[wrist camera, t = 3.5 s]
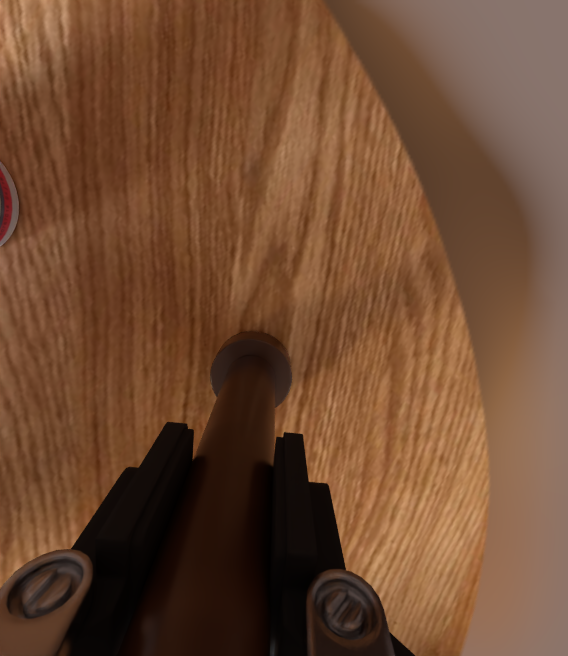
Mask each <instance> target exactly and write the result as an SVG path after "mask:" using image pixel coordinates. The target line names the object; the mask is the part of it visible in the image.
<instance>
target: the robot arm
mask: <svg viewBox="0 0 568 656" xmlns="http://www.w3.org/2000/svg"><path fill="white" fill-rule="evenodd" d="M193 440H194V430H193V429H188V426H187V424H185V423H174V422H167V423H166V424H165V426H164V427H163V429H162V431H161V432H160V434H159V436H158V437H157V439H156V440H155V442H154V444H153V445H152V447H151V449H150V450H149V452H148V453H147V455H146V457H145V458H144V460H143V462H142V463H141V465H140V466H139V468H135V467H128V468H126V469H125V470H124V471H123V472H122V474H121V475H120V477H119V478H118V480H117V481H116V483H115V484H114V486H113V487H112V489H111V490H110V492H109V493H108V495H107V496H106V498H105V499H104V501H103V502H102V504H101V505H100V507H99V508H98V510H97V511H96V513H95V514H94V516H93V517H92V519H91V520H90V522H89V523H88V525H87V526H86V527H85V529H84V530H83V532H82V533H81V535H80V536H79V538H78V539H77V541H76V542H75V544H74V545H73V547H72V548H71V549H64V550H56V551H52V552H49V553H46V554H43V555H41V556H39V557H37V558H35V559H33V560H31V561H29V562H27V563H26V564H25V565H23V566H22V567H21V568H19V569H18V570H17V571H15V572H14V574H13V575H12V576H11V577H10V578H9V579H8V580H7V581H6V582H5V583H4V584H3V586H2V587H1V588H0V656H117V654H118V651H119V648H120V646H121V643H122V641H123V638H124V636H125V633H126V630H127V628H128V625H129V623H130V620H131V618H132V615H133V612H134V610H135V607H136V605H137V602H138V600H139V597H140V595H141V592H142V589H143V587H144V584H145V582H146V579H147V577H148V574H149V571H150V569H151V566H152V564H153V561H154V559H155V556H156V554H157V551H158V548H159V546H160V543H161V541H162V538H163V536H164V533H165V530H166V528H167V525H168V523H169V520H170V518H171V515H172V512H173V510H174V507H175V505H176V502H177V500H178V497H179V494H180V492H181V489H182V487H183V484H184V482H185V479H186V476H187V474H188V471H189V469H190V466H191V464H192V460H193ZM269 601H270V606H271V634H270V656H415V655H414V654H413V653H412V652H411V651H410V650H408V649H407V648H406V647H405V646H404V645H403V644H402V643H401V642H400V641H399V640H398V639H396V638H395V637H394V636H393V635H392V634H391V633H390V632H389V629H388V625H387V621H386V617H385V612H384V609H383V606H382V604H381V601H380V598H379V596H378V595H377V594H376V592H375V591H374V589H373V588H372V586H371V585H369V584H368V583H367V582H366V581H365V580H364V579H363V578H362V577H360V576H358V575H356V574H354V573H353V572H350V571H346V568H345V563H344V558H343V553H342V548H341V543H340V538H339V533H338V529H337V524H336V519H335V514H334V509H333V504H332V499H331V494H330V489H329V486H328V484H326V483H315V482H309V481H308V473H307V465H306V457H305V449H304V441H303V434H297V433H286V432H284V435H283V437H276V444H275V453H274V461H273V480H272V518H271V556H270V594H269Z"/></svg>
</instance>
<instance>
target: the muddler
mask: <svg viewBox="0 0 568 656" xmlns="http://www.w3.org/2000/svg"><path fill="white" fill-rule="evenodd" d="M210 380H211V385H212V389H213V391H214V393H215V395H216V396H217V399H216V402H215V404H214V407H213V410H212V412H211V415H210V417H209V420H208V422H207V425H206V428H205V430H204V433H203V435H202V438H201V440H200V443H199V446H198V448H197V451H196V453H195V456H194V458H193V461H192V464H191V466H190V469H189V471H188V474H187V476H186V479H185V482H184V484H183V487H182V489H181V492H180V494H179V497H178V500H177V502H176V505H175V507H174V510H173V512H172V515H171V518H170V520H169V523H168V525H167V528H166V530H165V533H164V536H163V538H162V541H161V543H160V546H159V548H158V551H157V554H156V556H155V559H154V561H153V564H152V566H151V569H150V571H149V574H148V577H147V579H146V582H145V584H144V587H143V589H142V592H141V595H140V597H139V600H138V602H137V605H136V607H135V610H134V612H133V615H132V618H131V620H130V623H129V625H128V628H127V630H126V633H125V636H124V638H123V641H122V643H121V646H120V648H119V651H118V654H117V656H270V634H271V606H270V601H269V594H270V556H271V518H272V480H273V461H274V436H275V408H276V407H277V406H278V405H280V404H281V403H282V402H283V400H284V399H285V398H286V396H287V395H288V393H289V390H290V387H291V383H292V372H291V362H290V358H289V355H288V353H287V351H286V349H285V348H284V346H283V345H282V344H281V343H280V342H279V341H278V340H277V339H275V338H274V337H272V336H270V335H268V334H266V333H262V332H256V331H249V332H243V333H240V334H237V335H235V336H233V337H231V338H230V339H229V340H227V341H226V342H225V343H224V344H223V346H222V347H221V349H220V350H219V352H218V354H217V356H216V358H215V359H214V362H213V364H212V367H211V373H210Z"/></svg>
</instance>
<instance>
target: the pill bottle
mask: <svg viewBox="0 0 568 656" xmlns="http://www.w3.org/2000/svg"><path fill="white" fill-rule="evenodd" d="M18 216H19V200H18V195H17V190H16V187H15V185H14V182H13V180H12V178H11V176H10V174H9V172H8V171H7V169H6V168H5V166H4V165H3V164H2V162H1V161H0V246H2V245H3V244H4V243H5V242H6V241H7V240H8V239H9V238H10V236H11V235H12V233H13V231H14V229H15V227H16V224H17V221H18Z"/></svg>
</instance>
